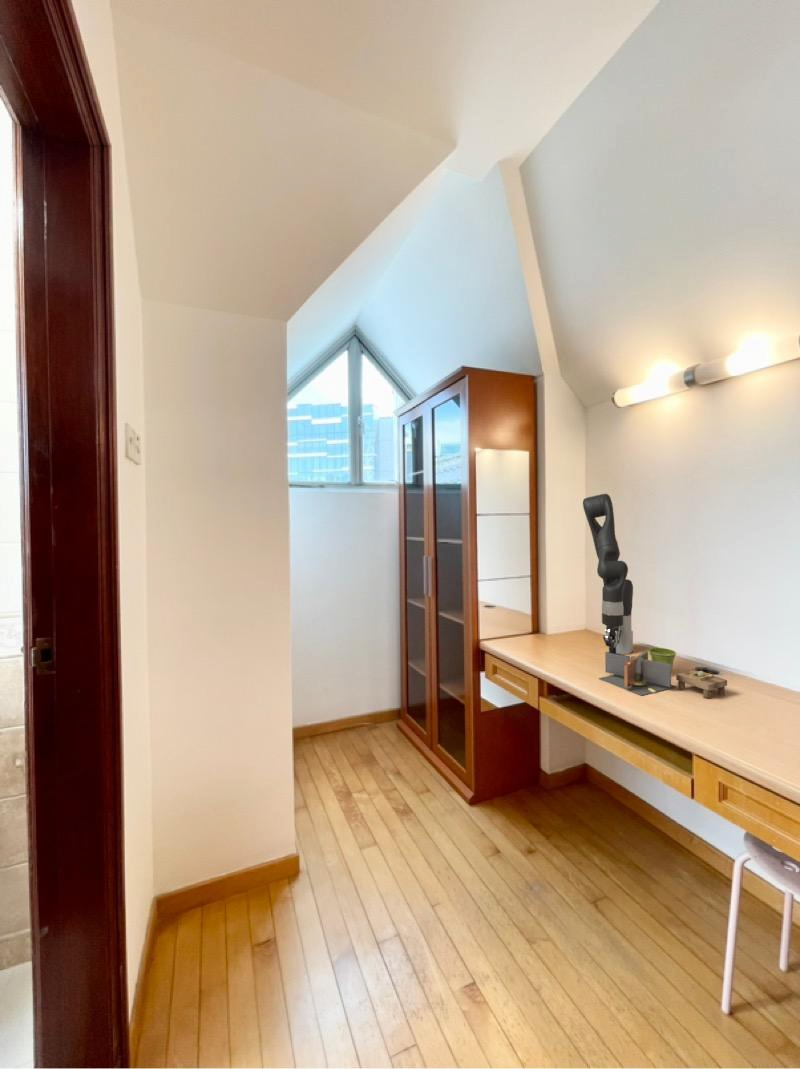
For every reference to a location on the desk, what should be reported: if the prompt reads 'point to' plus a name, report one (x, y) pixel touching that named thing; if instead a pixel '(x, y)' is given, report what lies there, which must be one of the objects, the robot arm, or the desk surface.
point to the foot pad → (639, 690)
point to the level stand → (702, 682)
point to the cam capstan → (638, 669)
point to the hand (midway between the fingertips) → (612, 656)
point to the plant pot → (662, 655)
